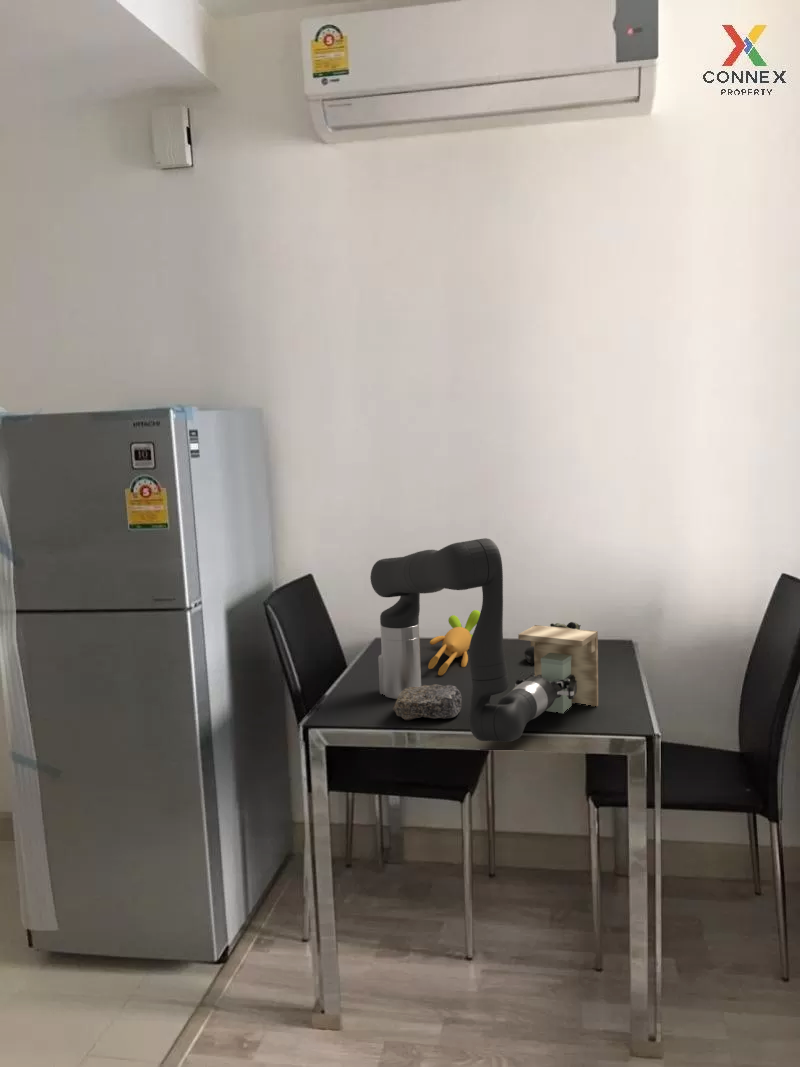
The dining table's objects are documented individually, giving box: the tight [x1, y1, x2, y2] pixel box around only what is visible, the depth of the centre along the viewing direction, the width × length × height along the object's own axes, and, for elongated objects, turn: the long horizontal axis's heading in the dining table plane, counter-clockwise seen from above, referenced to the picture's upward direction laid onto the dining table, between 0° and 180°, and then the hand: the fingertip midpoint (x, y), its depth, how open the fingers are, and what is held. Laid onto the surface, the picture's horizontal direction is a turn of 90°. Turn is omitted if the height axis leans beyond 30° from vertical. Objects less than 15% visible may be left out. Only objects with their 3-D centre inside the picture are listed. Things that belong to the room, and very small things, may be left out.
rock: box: [392, 683, 463, 721], centre depth 203 cm, size 13×6×15 cm
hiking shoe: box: [524, 621, 581, 664], centre depth 246 cm, size 8×21×9 cm, turn 130°
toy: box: [427, 609, 481, 676], centre depth 246 cm, size 13×14×30 cm
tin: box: [541, 653, 573, 714], centre depth 203 cm, size 5×5×12 cm
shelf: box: [517, 624, 599, 708], centre depth 204 cm, size 15×10×17 cm, turn 58°
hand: (560, 677), depth 205 cm, fingers closed on tin, 5 cm apart
